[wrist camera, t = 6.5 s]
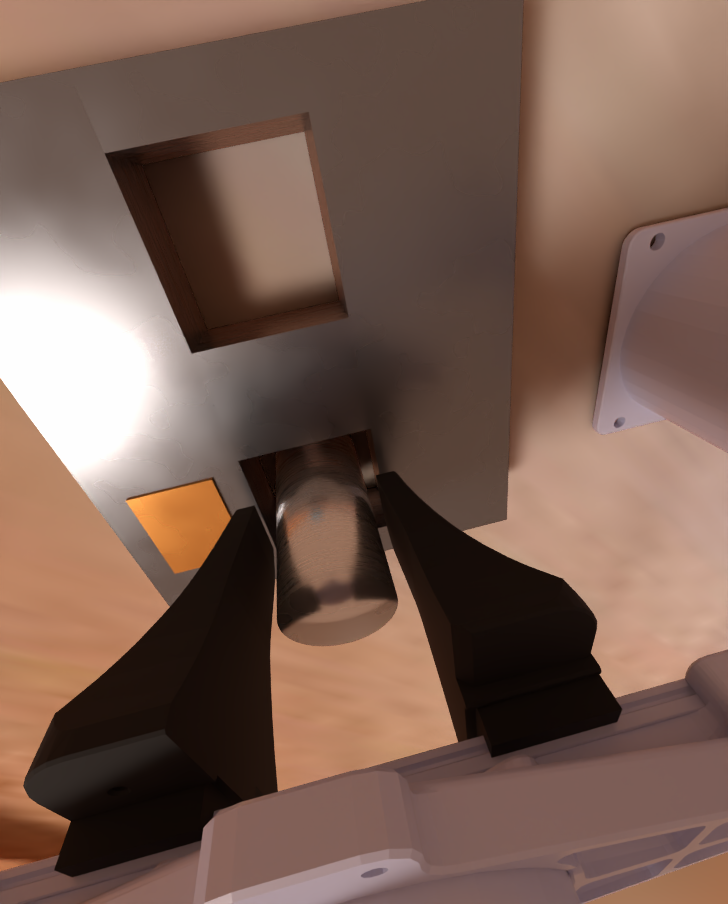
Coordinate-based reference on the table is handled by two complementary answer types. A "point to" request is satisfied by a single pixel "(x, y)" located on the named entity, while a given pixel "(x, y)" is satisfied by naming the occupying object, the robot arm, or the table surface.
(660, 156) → the table surface
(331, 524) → the steel peg
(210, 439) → the plate
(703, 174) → the table surface
